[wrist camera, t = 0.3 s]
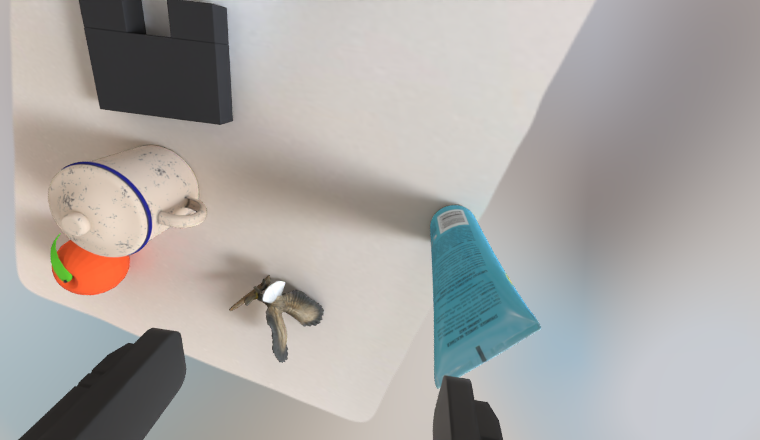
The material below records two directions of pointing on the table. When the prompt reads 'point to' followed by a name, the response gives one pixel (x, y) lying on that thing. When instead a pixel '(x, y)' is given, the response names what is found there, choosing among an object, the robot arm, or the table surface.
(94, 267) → the clementine
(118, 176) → the teacup with lid
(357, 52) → the table surface
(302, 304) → the eagle figurine
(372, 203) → the table surface
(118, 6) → the large pad
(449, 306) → the tube
